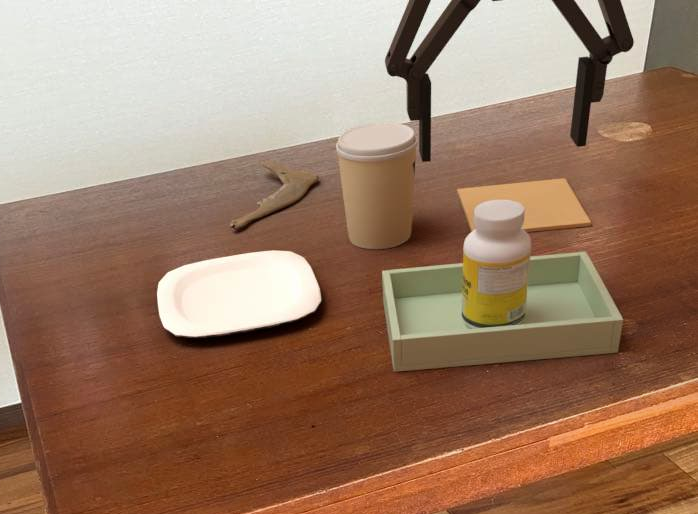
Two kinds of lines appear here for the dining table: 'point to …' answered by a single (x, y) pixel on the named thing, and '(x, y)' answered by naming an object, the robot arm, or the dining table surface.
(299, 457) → the dining table surface
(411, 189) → the coffee cup
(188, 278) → the plate
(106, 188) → the dining table surface
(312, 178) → the jawbone
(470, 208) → the cork mat
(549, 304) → the tray
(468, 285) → the pill bottle
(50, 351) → the dining table surface
